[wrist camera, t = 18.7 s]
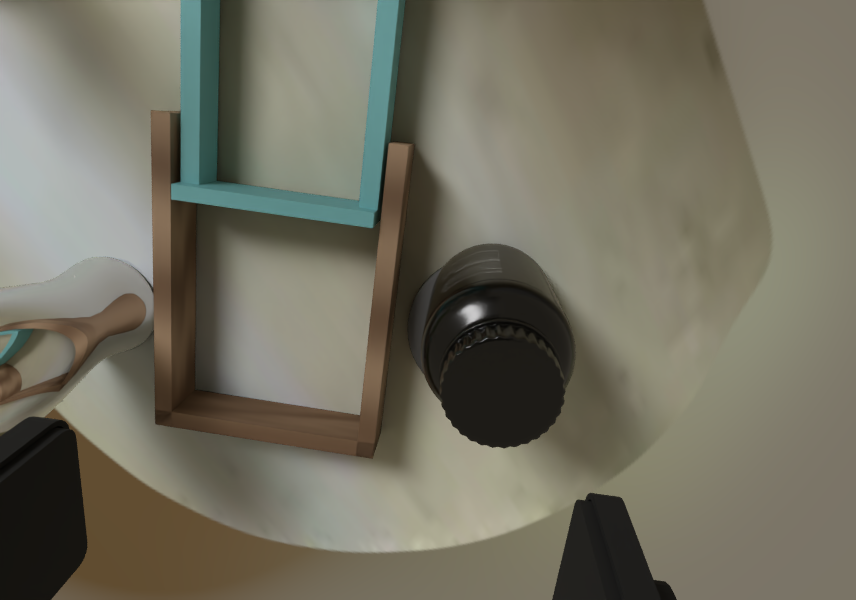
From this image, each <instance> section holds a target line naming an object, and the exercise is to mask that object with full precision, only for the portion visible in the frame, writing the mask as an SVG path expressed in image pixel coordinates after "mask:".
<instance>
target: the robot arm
mask: <svg viewBox="0 0 856 600" xmlns="http://www.w3.org/2000/svg"><path fill="white" fill-rule="evenodd" d="M86 550H87V535H86V526H85V516H84V507H83V497H82V488H81V479H80V469H79V460H78V450H77V441H76V435H75V433H74V431H73V430H70V429H69V426H68V424H67V423H66V422H65V421H63V420H56V419H49V418H43V417H35V416H33V417H28V418H26V419H24V420H23V421H21V422H20V423H18V424H17V425H16V426H14V427H13V428H11V429H10V430H8V431H7V432H6V433H4V434H3V435H1V436H0V600H51V599H52V598H53V597H54V595H55V594H56V593H57V592H58V591H59V589H60V588H61V587H62V586H63V585H64V584H65V582H66V581H67V580H68V579H69V578H70V577H71V575H72V574H73V573H74V572H75V571H76V570H77V568H78V567H79V566H80V564H81V563H82V561H83V559H84V557H85V554H86ZM552 600H677V599H676V597H675V595H674V593H673V591H672V589H671V587H670V586H669V585H668V584H667V583H666V582H664V581H657V580H653V578H652V575H651V573H650V570H649V567H648V565H647V562H646V559H645V556H644V554H643V551H642V549H641V546H640V543H639V541H638V538H637V535H636V533H635V530H634V527H633V525H632V523H631V520H630V517H629V515H628V512H627V509H626V506H625V504H624V501H623V500H622V498H620V497H616V496H609V495H601V494H594V493H589V494H588V495H587V497H586V500H585V501H584V500H577V501H576V502H575V505H574V510H573V514H572V518H571V522H570V526H569V531H568V536H567V540H566V544H565V548H564V553H563V557H562V561H561V565H560V569H559V573H558V578H557V582H556V586H555V591H554V595H553V599H552Z"/></svg>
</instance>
